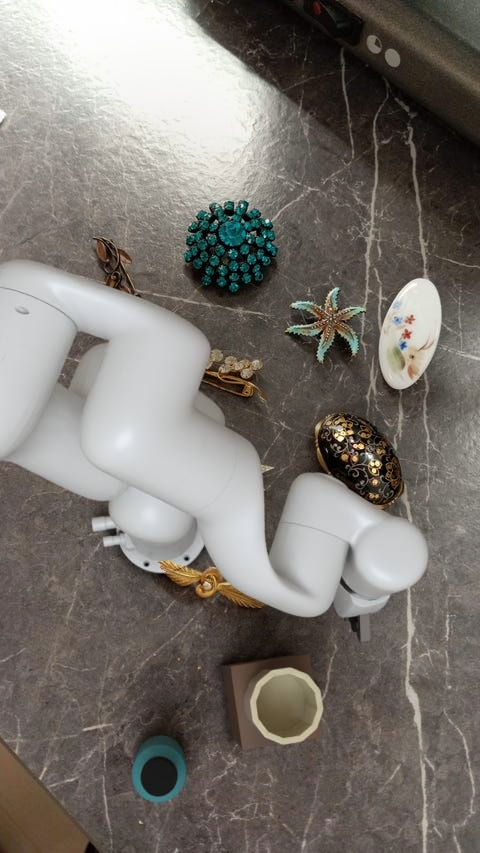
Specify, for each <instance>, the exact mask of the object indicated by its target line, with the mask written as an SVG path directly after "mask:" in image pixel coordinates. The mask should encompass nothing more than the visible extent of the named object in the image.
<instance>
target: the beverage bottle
mask: <svg viewBox="0 0 480 853" xmlns="http://www.w3.org/2000/svg"><path fill="white" fill-rule="evenodd" d="M187 773H188V772H187V763H186V757H185V751H184V748H183V747H182V744H181V743H180V742H178V740H176V739H175V737H171V736H168V735H156V734H154V735H153V736H150V737H147V739H145V740H143V742H142V744H141V745H140V746H139V747H137V751H136V755H135V757H134V758H133V762H132V767H131V781H132V784H133V787H134V789H135V791H136V792H137V793H138V794H139V796H141V798H143V799H145V800H146V801H149V802H151V803H166V802H169V801H170V800H172V799H174V798H175V797H176V796H178V794H179V793H180V792H182V789H183V788H184V786H185V783H186V780H187Z"/></svg>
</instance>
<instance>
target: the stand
mask: <svg viewBox="0 0 480 853" xmlns="http://www.w3.org/2000/svg"><path fill="white" fill-rule="evenodd" d="M276 667H290V668H293V669H296V670H298V671H301V672H303V673H306V674H308V675H309V676H310V678H311V679H312V680H313V681H314V682H315V680H314V673H313V669H312V668H313V667H312V662H311V655H310V653H303V654H301V653H300V654H287V655H281V656H274V657H268V658H261V659H255V660H249V661H243V662H236V663H229V664H222V666H221V669H222V677H223V683H224V690H225V698H226V705H227V713H228V719H229V727H230V734H231V737H232V738H233V739H234V741H235V742H236V744H237V745H238V747H240V749H241V750H242V751H247V750H253V749H259V748H267V747H271V746H278V745H281V744H280V743H278V742H275V741H273V740H270V739H268V738H265V737H264V736H263V735H262V734H261V733H260V732H259V731H257V730H256V729H255V727H254V726H253V725H252V723H251V722H250V721H249V719H248V718H247V717H246V714H245V707H244V700H243V698H244V694H245V691H246V689H247V686H248V683H249V681H250V680H251V679H252V678H253V677H254V676H256V675H257V674H258V673H259V672H260V671H262V670H263V669H269V668H276ZM323 735H324V734H323V728H322V724H321V720H320V721H319V724H318V727H317V728H316V730H315V731H314V732H313V733H311V734H310V735H309V736H308V737H307V738H306V739H304V740H303V741H308V740H314V739H320V738H323Z"/></svg>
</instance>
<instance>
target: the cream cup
mask: <svg viewBox="0 0 480 853" xmlns="http://www.w3.org/2000/svg"><path fill="white" fill-rule="evenodd" d="M243 700H244V707H245V714H246V717H247V718H248V719H249V721H250V722H251V723H252V725H253V726H254V727H255V729H256V730H257V731H259V732H260V733H261V734H262V735H263V736H264V737H265V738H268V739H270V740H273V741H275V742H278V743H280V744H279V745H289V744H294V743H302V742H303V741H305V740H304V739H306V738H307V737H308V736H309V735H310V734H311V733H313V732H314V731H315V730H316V728H317V727H318V724H319V721H320V722H321V718H322V715H323V713H324V705H323V698H322V692H321V689H320V688H319V686H318V685H317V684H316V683H315V680H314V681H313V680H312V679H311V678H310V676H309V675H308V674H306V673H303V672H301V671H298V670H296V669H293V668H290V667H276V668H269V669H263V670H262V671H260V672H259V673H258V674H257V675H256V676H254V677H253V678H252V679H251V680H250V681H249V683H248V686H247V689H246V691H245V694H244V698H243Z"/></svg>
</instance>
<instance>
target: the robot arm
mask: <svg viewBox="0 0 480 853" xmlns="http://www.w3.org/2000/svg"><path fill="white" fill-rule="evenodd" d="M79 332H82V333H85V334H88V335H90V336H93V337H96V338H99V339H102V340H103V339H104V340H106V341H108V342H104V343H99V344H96V345H94V346H92V347H91V348H89V349H88V350H87V351H86V352H85V353H84V354H83V356H82V357H81V359H80V361H79V362H78V365H77V367H76V369H75V370H74V374H73V376H72V378H71V381H70V384H69V386H68V388H66V386H64V385H62V384H60V383H58V381H59V378H60V375H61V373H62V371H63V368H64V366H65V363H66V361H67V358H68V355H69V353H70V350H71V348H72V346H73V343H74V341H75V338H76V336H77V333H79ZM211 348H212V347H211V344H210V341H209V339H208V337H207V336H206V334H204V332H202V330H201V329H199V328H198V327H197V326H195V325H194V324H193V323H192V322H190V321H189V320H187V319H185V318H184V317H182V316H181V315H178V314H177V313H175V312H173V311H171V310H169V309H167V308H165V307H163V306H161V305H158V304H156V303H153V302H151V301H149V300H146V299H144V298H142V297H139V296H136V295H134V294H131V293H128V292H125V291H123V290H120V289H117V288H114V287H111V286H108V285H105V284H102V283H100V282H97V281H94V280H91V279H88V278H86V277H83V276H80V275H78V274H74V273H72V272H69V271H67V270H64V269H61V268H58V267H55V266H52V265H50V264H46V263H43V262H39V261H36V260H31V259H23V258H22V259H20V258H19V259H18V258H17V259H16V258H15V259H11V260H7V261H4V262H2V263H1V264H0V461H1V462H7V463H8V462H9V463H12V464H15V465H16V466H19V467H22V468H23V469H25V470H27V471H29V472H31V473H32V474H35V475H37V476H39V477H41V478H42V479H45V480H47V481H49V482H51V483H53V484H55V485H57V486H59V487H61V488H63V489H65V490H67V491H68V492H71V493H74V494H76V495H78V496H80V497H83V498H86V499H88V500H92V501H96V502H108V506H107V507H108V508H107V509H108V514H109V515H106V516H105V515H103V516H102V515H101V516H94V517H91V526H92V527H91V528H92V531H93V532H92V533H95V532H103V531H107V530H113V529H116V535H107V536H102V542H103V548H107V547H113V546H118V545H119V547H120V549H121V550H122V552H123V554H124V555H125V557H127V559H128V560H129V561H130V562H131V563H132V564H133V565H135V566H137V567H138V568H140V569H142V570H144V571H146V572H151V573H154V574H167V573H170V572H166V571H164V570H162V569H161V568H160V566H161V565H162V564H160V563H158V562H159V561H168V560H170V561H171V562H173V563H176V564H178V565H181V566H185V567H188V566H189V565H190V564H191V563H193V562H194V561H195V560H196V559H197V558H198V556H199V555H200V554H201V552H202V551H203V548H204V547H205V549H206V551H207V553H208V555H209V558H210V559H211V560H212V563H213V564H214V565H215V568H216V569H217V570H218V572H219V574H220V575H221V576H222V577H223V579H224V580H225V581H226V582H227V583H228V584H229V585H230V586H232V587H233V588H234V589H235V590H237V591H238V592H240V593H242V594H243V595H246V596H247V597H249V598H252V599H254V600H255V601H258V602H261V603H263V604H265V605H267V606H269V607H272V608H274V609H276V610H279V611H281V612H283V613H286V614H289V615H293V616H296V617H302V618H315V617H318V616H321V615H322V614H324V613H326V612H327V611H328V610H329V608H331V606H332V604H333V607H334V611H335V615H336V616H338V617H340V618H343V621H344V622H349V624H350V630H351V631H352V632H353V633H355V634H356V637H357V639H358V642H359V643H360V644H361V643H363V644H364V643H369V642H371V614H375V613H376V612H379V611H380V610H382V609H383V608H384V607H385V606H386V605H387V603H388V601H389V599H390V597H391V595H393V594H396V593H398V592H402V591H405V590H408V589H409V588H410V587H412V586H414V585H415V584H416V583H418V581H420V579H421V578H423V576H424V574H425V572H426V570H427V567H428V563H429V558H430V556H429V554H430V553H429V546H428V543H427V540H426V538H425V536H424V534H423V532H422V530H420V528H419V527H417V525H415V524H414V523H413V522H411V521H410V520H408V519H406V518H404V517H401V516H395V515H393V514H391V513H389V512H387V511H385V510H384V509H382V508H381V507H379V506H377V505H375V504H374V503H372V502H370V501H369V500H367V499H366V498H363V497H362V496H360V495H359V494H358V493H356V492H354V491H353V490H351V489H349V487H348V486H347V485H346V484H345V483H344V482H342V481H341V480H340V479H338V478H336V477H334V476H332V475H330V474H327V473H323V472H303V473H301V474H299V475H297V477H295V479H293V482H292V483H291V485H290V487H289V490H288V493H287V497H286V498H285V502H284V506H283V508H282V512H281V514H280V518H279V522H278V524H277V528H276V531H275V534H274V538H273V541H272V544H271V547H270V549H269V553H268V549H267V542H266V531H265V530H266V529H265V526H266V525H265V521H266V520H265V489H264V477H263V470H262V469H263V468H262V463H261V459H260V456H259V453H258V451H257V449H256V448H255V446H254V445H253V443H251V441H249V440H248V439H247V438H246V437H244V436H242V435H241V434H239V433H238V432H235V431H234V430H233V429H230V428H229V427H227V426H226V418H225V415H224V412H223V411H222V409H221V408H220V407H219V406H218V404H217V403H216V402H214V401H213V400H212V399H211V398H209V397H208V396H207V395H206V394H204V393H203V392H201V391H200V390H199V388H200V386H201V383H202V380H203V378H204V375H205V372H206V368H207V366H208V363H209V360H210V357H211V353H212V351H211V350H212V349H211ZM186 558H188V559H187V560H186ZM146 563H147V564H148V565H146ZM185 567H183V568H181V569H179V570H176V571H172V572H171V573H174V572H177V571H180V570H182V569H184V568H185Z"/></svg>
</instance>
